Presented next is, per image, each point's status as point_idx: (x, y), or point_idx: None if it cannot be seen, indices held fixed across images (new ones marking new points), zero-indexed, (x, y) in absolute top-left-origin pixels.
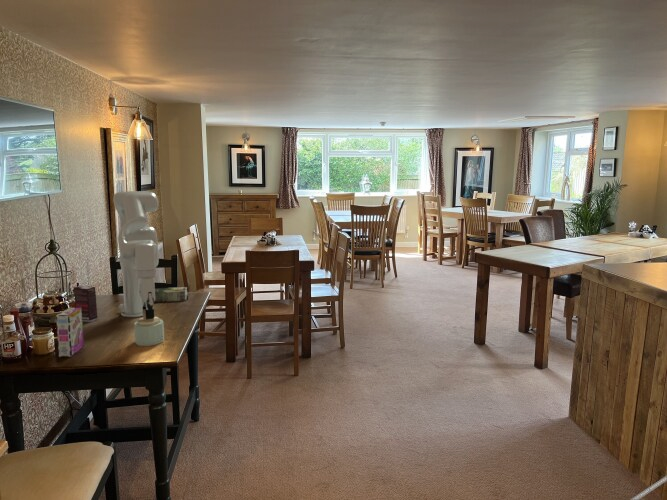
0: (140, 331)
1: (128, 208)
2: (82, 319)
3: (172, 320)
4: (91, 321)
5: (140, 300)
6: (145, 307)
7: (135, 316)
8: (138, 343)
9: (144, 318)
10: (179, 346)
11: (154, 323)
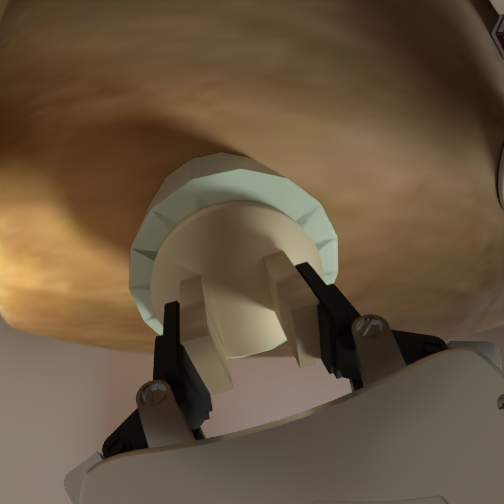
0: (146, 215)
1: None
2: (500, 22)
3: (431, 288)
4: (494, 39)
5: (276, 429)
6: (325, 336)
7: (500, 169)
8: (167, 176)
9: (265, 265)
10: (124, 346)
11: None
